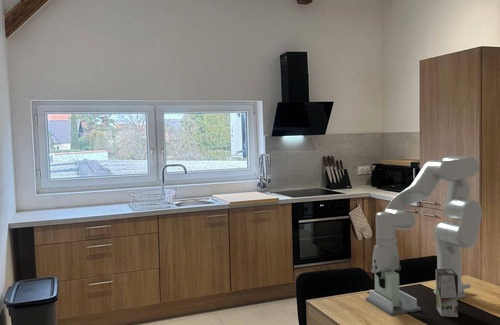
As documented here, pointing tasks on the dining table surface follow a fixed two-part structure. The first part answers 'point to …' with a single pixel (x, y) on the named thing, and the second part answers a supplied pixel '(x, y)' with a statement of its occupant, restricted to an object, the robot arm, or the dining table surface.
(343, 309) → the dining table surface
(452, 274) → the coffee box
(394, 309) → the dish rack
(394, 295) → the upright sage green tile
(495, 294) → the dining table surface
